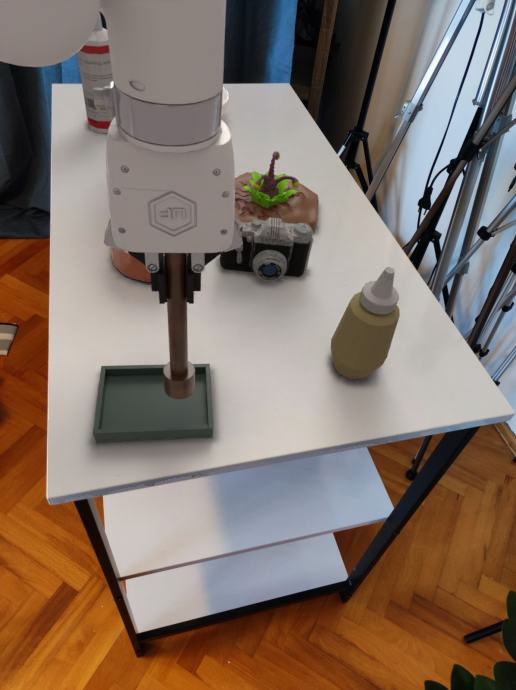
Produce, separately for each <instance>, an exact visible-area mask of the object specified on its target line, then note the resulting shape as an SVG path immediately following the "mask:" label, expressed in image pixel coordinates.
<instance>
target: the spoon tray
mask: <svg viewBox="0 0 516 690" xmlns="http://www.w3.org/2000/svg"><path fill="white" fill-rule="evenodd" d="M192 364H193V366H194V367H195V391H194V393H193V394H192V395H191V396H190V397H188V398H185V399H173V398H171V397H169V396H168V395H167V394H166V393H165V390H164V376H163V369H164V367H165V365H166V364H128V365H127V364H125V365H124V364H123V365H121V364H120V365H101V366H100V373H99V381H98V389H97V398H96V403H95V404H96V406H95V413H94V421H93V427H92V428H93V430H92V435H93V438H94V442H95V443H109V442H110V443H111V442H133V441H156V440H157V441H158V440H180V439H204V438H213V437H214V417H213V403H212V402H213V398H212V378H211V366H210V365H211V364H210V363H192Z"/></svg>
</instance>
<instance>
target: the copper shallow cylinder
mask: <svg viewBox="0 0 516 690" xmlns="http://www.w3.org/2000/svg"><path fill="white" fill-rule="evenodd" d="M109 250H110V255H111V260H112V263H113V265H114V267H115V268H116V269H117V270H118V271H119V272H121V273H122V274H123V275H125V276H127V277H128V278H130V279H133V280H138V281H142V282H147V283H148V282H150V283H151V277H150V272H148V271H147V270H146V265H144V264H143V263H141V262H140V261H139V260H137V259H136V258H134V257H133V256H131V255H130V254H129V253H128V251H121V250H118V249H115V248H112V247H109ZM163 254H164V253H163ZM164 256H165V254H164ZM186 256H188V253H186Z"/></svg>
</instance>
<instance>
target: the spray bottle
mask: <svg viewBox="0 0 516 690" xmlns="http://www.w3.org/2000/svg"><path fill="white" fill-rule="evenodd" d="M76 56H77V62H78V68H79V75H80V81H81V88H82V94H83V99H84V106H85V112H86V118H87V124H88V128H89V130H91V131H94V132H96V133H99V134H108V128H109V126H110V124H111V121H112V120H113V119H114V118H115V117H116V116H113V115H112V111H106V109H101V108H95V106H94V100H93V88H94V87H97V88H104V86H110V81H113V76H112V68H111V59H110V51H109V42H108V34H107V28H104V27H103V23H102V17H101V12H99V15H98V19H97V23H96V26H95V28H94V30H93V32H92V34H91V36H90V38H89V40H88V41H87V42H86V44H85V45H84V46H83V47H82V48H81V49H80V51H79V52H77V53H76Z"/></svg>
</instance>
